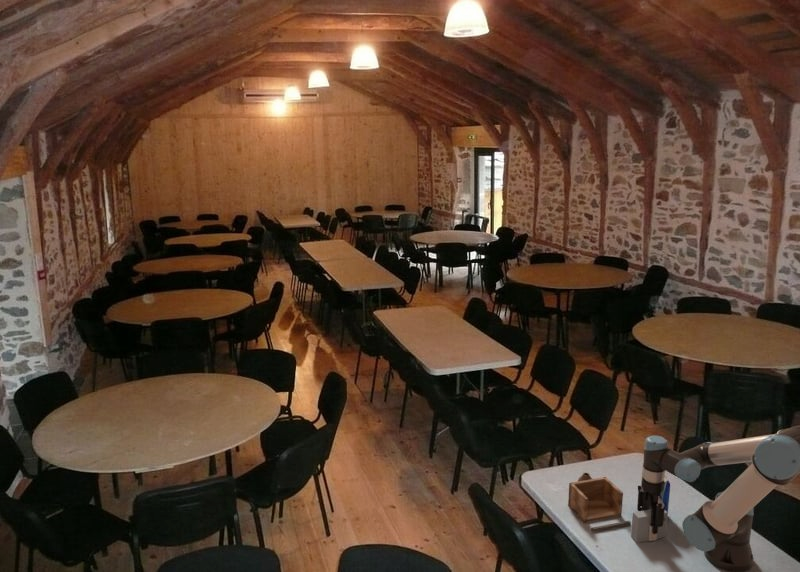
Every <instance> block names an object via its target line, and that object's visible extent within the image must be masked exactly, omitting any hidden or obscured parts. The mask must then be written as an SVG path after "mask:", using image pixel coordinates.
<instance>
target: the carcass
mask: <svg viewBox="0 0 800 572" xmlns="http://www.w3.org/2000/svg"><path fill="white" fill-rule="evenodd" d="M577 481H578V480H577ZM577 481H574V482H573V481H572V482H569V484H568V505H567V506H568V508H570V509H571V510H572V511H573V512H574V514H575V515H576V516H577V517H578V518H579V519H580V520H581V521H582V522H583V524H585V523H591V522H596V521H602V520H607V519H613V518H618V517H622V512H623V499H624V492H623V491H622V490H621V489H620V488H619V487H617V485H616V484H614V483H613V482H612V481H611V480H610V479H609V478H608V477H607V476H603V477H598V478H597V477H596V478H592V479H590V480H584V481H578V482H577ZM626 526H632V521H630V520H626V521H621V522H614V523H610V524H603V525H599V526H591V527H590V531H591V532H592V533H594V532H601V531H604V530H605V531H606V530H612V529H617V528H621V527H626Z"/></svg>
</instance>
